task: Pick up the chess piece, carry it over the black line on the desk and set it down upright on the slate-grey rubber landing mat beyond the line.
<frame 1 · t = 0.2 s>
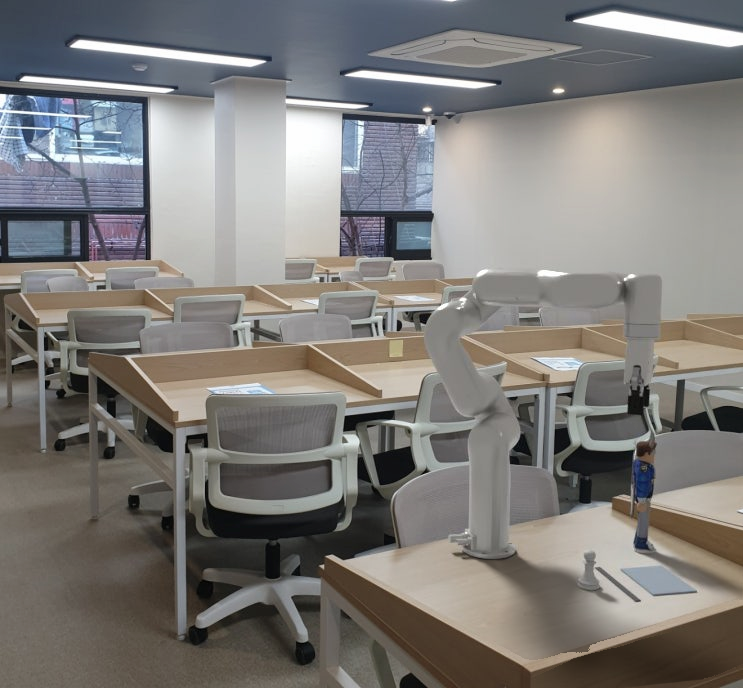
hand: (638, 410, 184), 37 cm above the table, tool pointing down, fingers open, 9 cm apart
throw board: (636, 582, 184), on the table
figurine: (640, 549, 203), on the table
chess piece: (588, 587, 181), on the table
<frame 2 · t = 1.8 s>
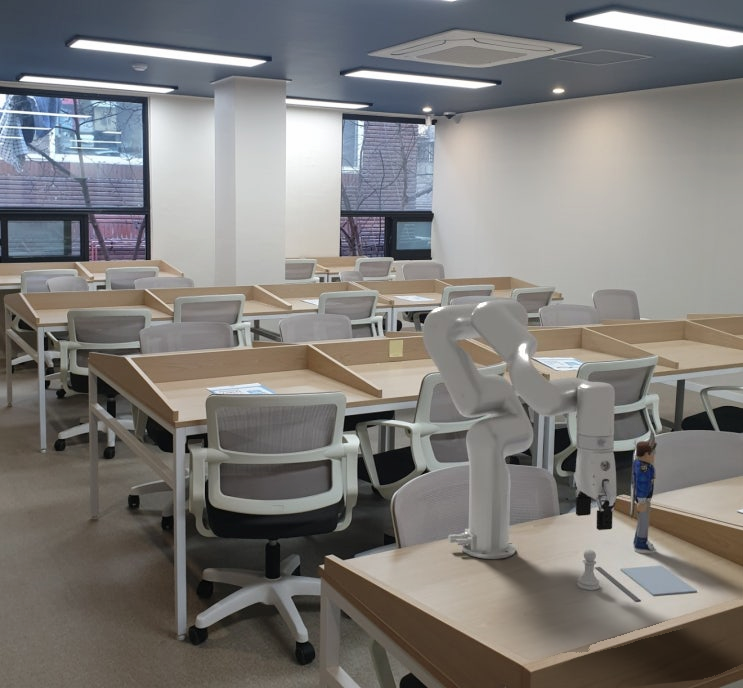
hand: (593, 521, 179), 14 cm above the table, tool pointing down, fingers open, 9 cm apart
nothing on the table moved.
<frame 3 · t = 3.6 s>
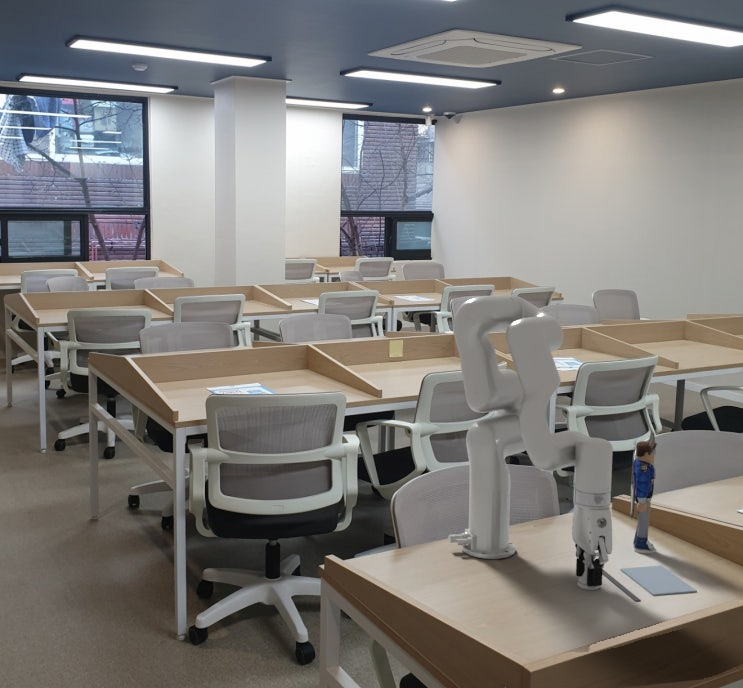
hand: (588, 579, 181), 1 cm above the table, tool pointing down, fingers closed on chess piece, 4 cm apart
chess piece: (588, 587, 181), on the table, touching gripper
everything else where it was.
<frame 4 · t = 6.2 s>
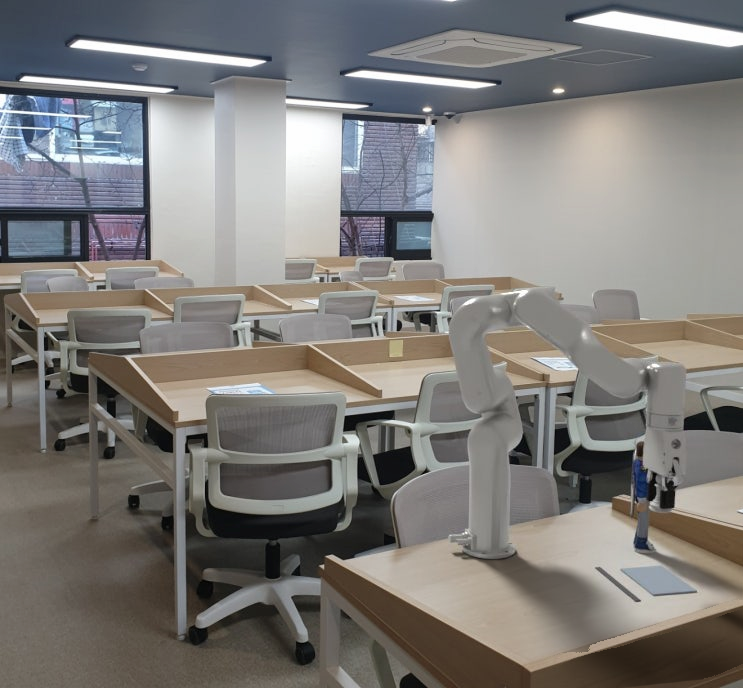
hand: (660, 503, 182), 17 cm above the table, tool pointing down, fingers closed on chess piece, 4 cm apart
chess piece: (660, 510, 183), point 16 cm above the table, touching gripper
everything else where it was.
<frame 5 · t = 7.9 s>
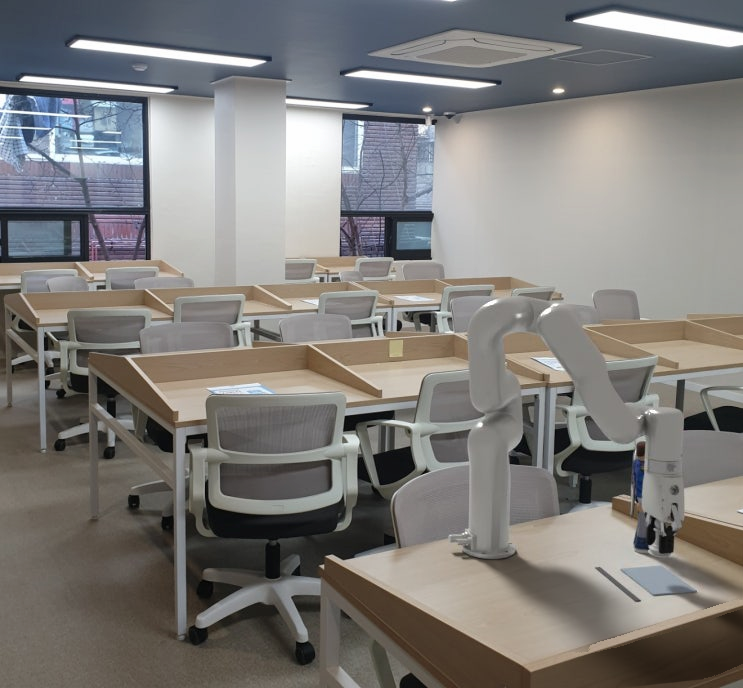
hand: (659, 547, 184), 7 cm above the table, tool pointing down, fingers closed on chess piece, 4 cm apart
chess piece: (659, 554, 184), point 6 cm above the table, touching gripper
everything else where it was.
when the fingers open (3 cm above the table, at t = 9.2 s): chess piece drops 1 cm, resting on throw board.
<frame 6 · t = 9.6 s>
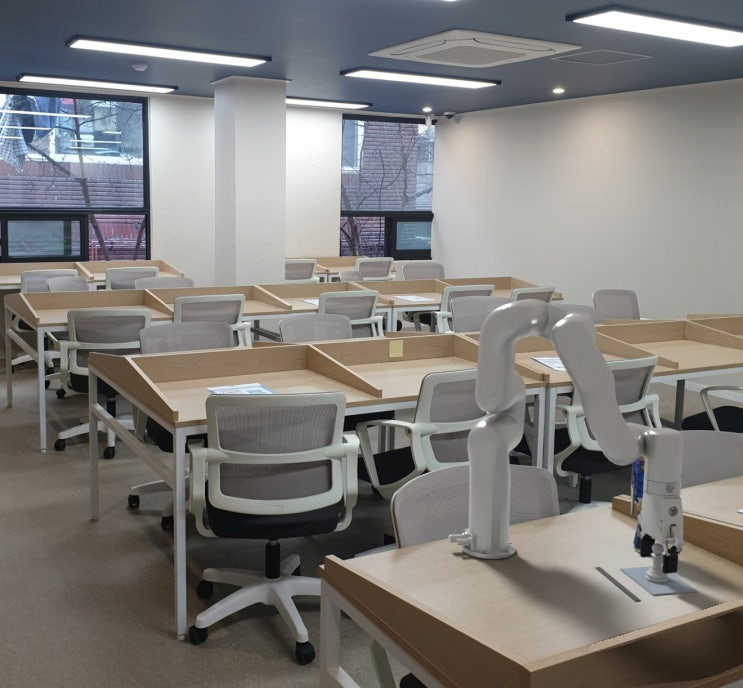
hand: (658, 564, 184), 4 cm above the table, tool pointing down, fingers open, 8 cm apart
chess piece: (656, 579, 185), resting on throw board
everything else where it was.
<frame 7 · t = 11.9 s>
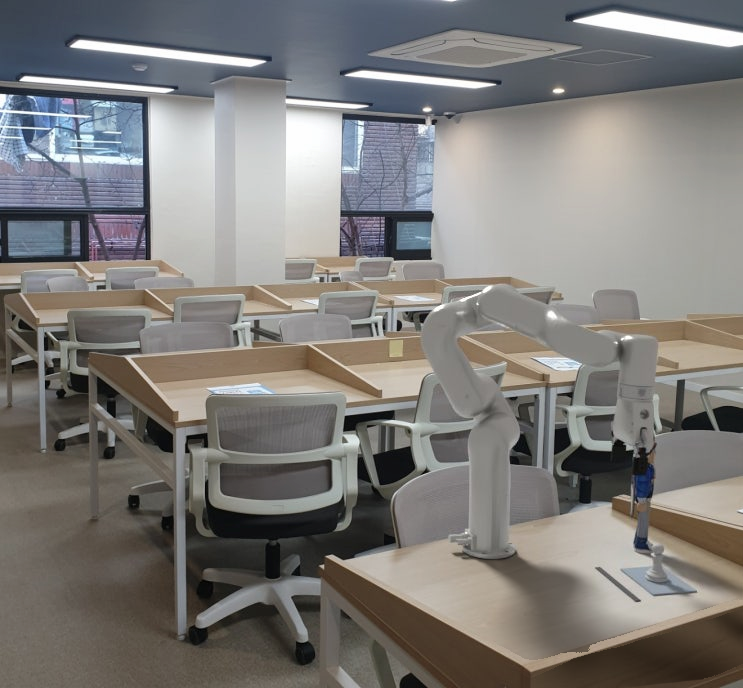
hand: (628, 468, 187), 23 cm above the table, tool pointing down, fingers open, 9 cm apart
nothing on the table moved.
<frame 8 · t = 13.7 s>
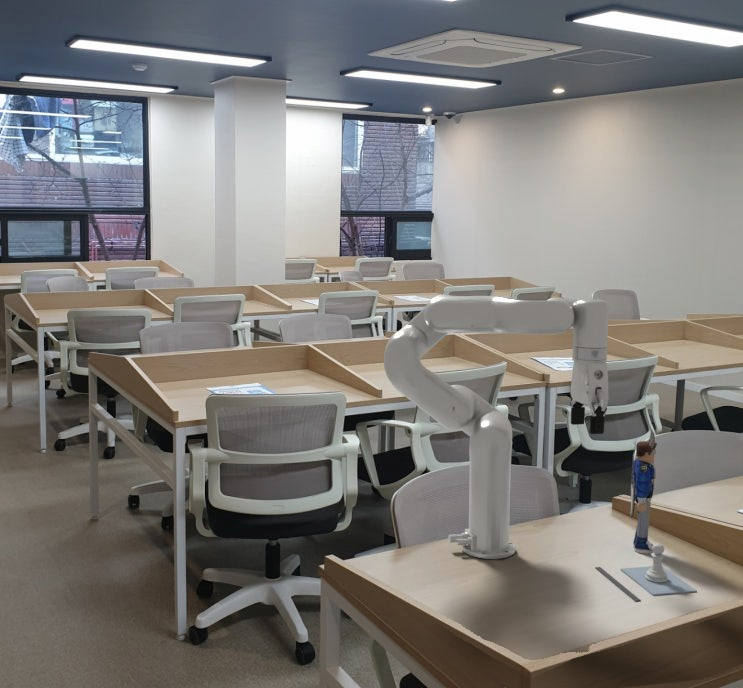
hand: (586, 428, 194), 30 cm above the table, tool pointing down, fingers open, 9 cm apart
nothing on the table moved.
at the end: chess piece inside the target area (0.7 cm from its centre), resting on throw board; chess piece tilted 0°; the gripper is holding nothing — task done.
